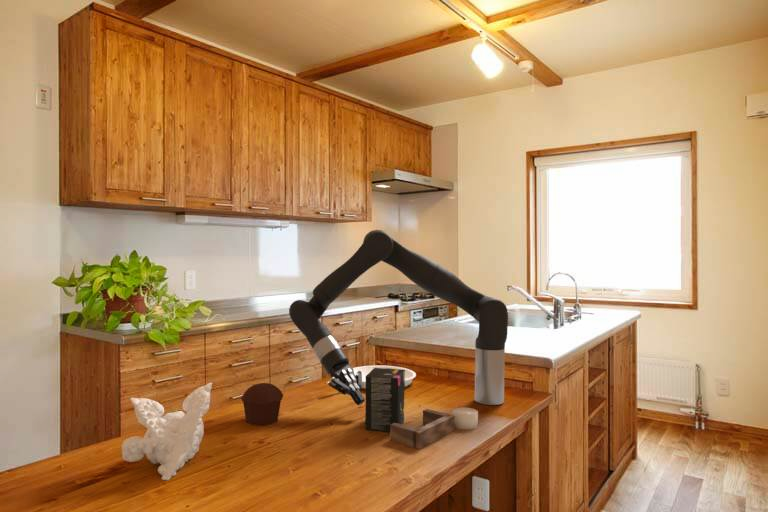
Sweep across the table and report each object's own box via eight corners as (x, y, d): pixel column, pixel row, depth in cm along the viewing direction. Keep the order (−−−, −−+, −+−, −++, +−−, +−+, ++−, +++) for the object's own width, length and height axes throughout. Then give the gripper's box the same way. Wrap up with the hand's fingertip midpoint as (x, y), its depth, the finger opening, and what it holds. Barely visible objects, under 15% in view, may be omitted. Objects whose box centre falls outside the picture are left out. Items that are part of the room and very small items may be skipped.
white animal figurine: (209, 400, 133) (212, 374, 117) (216, 482, 124) (220, 466, 108) (128, 411, 126) (119, 386, 110) (128, 500, 117) (119, 486, 101)
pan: (430, 382, 190) (430, 369, 190) (356, 405, 161) (356, 390, 161) (377, 371, 208) (377, 359, 207) (301, 389, 179) (301, 375, 179)
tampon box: (398, 433, 137) (399, 377, 137) (364, 430, 139) (365, 375, 138) (405, 420, 148) (405, 368, 147) (373, 417, 149) (374, 366, 149)
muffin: (269, 411, 154) (270, 377, 154) (291, 420, 146) (291, 384, 146) (233, 420, 146) (233, 384, 145) (253, 430, 138) (254, 392, 138)
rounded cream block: (460, 419, 149) (460, 405, 149) (482, 425, 144) (482, 410, 144) (447, 426, 143) (447, 411, 143) (470, 431, 139) (470, 416, 139)
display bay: (426, 423, 145) (426, 408, 145) (454, 430, 139) (455, 415, 139) (390, 440, 131) (390, 424, 131) (419, 449, 126) (419, 432, 126)
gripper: (321, 350, 149) (353, 401, 142) (352, 344, 159) (383, 390, 152) (308, 366, 152) (338, 416, 145) (339, 358, 163) (368, 405, 155)
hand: (361, 403), depth 148 cm, fingers closed
